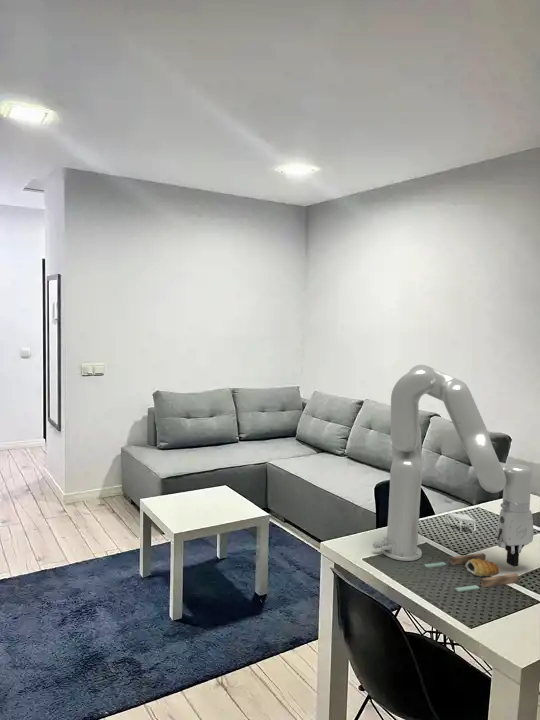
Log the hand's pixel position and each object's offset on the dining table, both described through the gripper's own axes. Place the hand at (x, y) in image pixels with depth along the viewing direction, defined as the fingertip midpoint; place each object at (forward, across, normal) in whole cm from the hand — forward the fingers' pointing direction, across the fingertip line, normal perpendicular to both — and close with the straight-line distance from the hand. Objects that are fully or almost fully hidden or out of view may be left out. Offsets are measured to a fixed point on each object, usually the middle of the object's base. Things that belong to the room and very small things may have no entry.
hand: (512, 564), depth 172 cm
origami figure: (+2, +5, +31) cm, 32 cm away
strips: (+1, -22, 0) cm, 22 cm away
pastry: (+2, -10, +1) cm, 11 cm away
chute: (+1, -10, 0) cm, 10 cm away
